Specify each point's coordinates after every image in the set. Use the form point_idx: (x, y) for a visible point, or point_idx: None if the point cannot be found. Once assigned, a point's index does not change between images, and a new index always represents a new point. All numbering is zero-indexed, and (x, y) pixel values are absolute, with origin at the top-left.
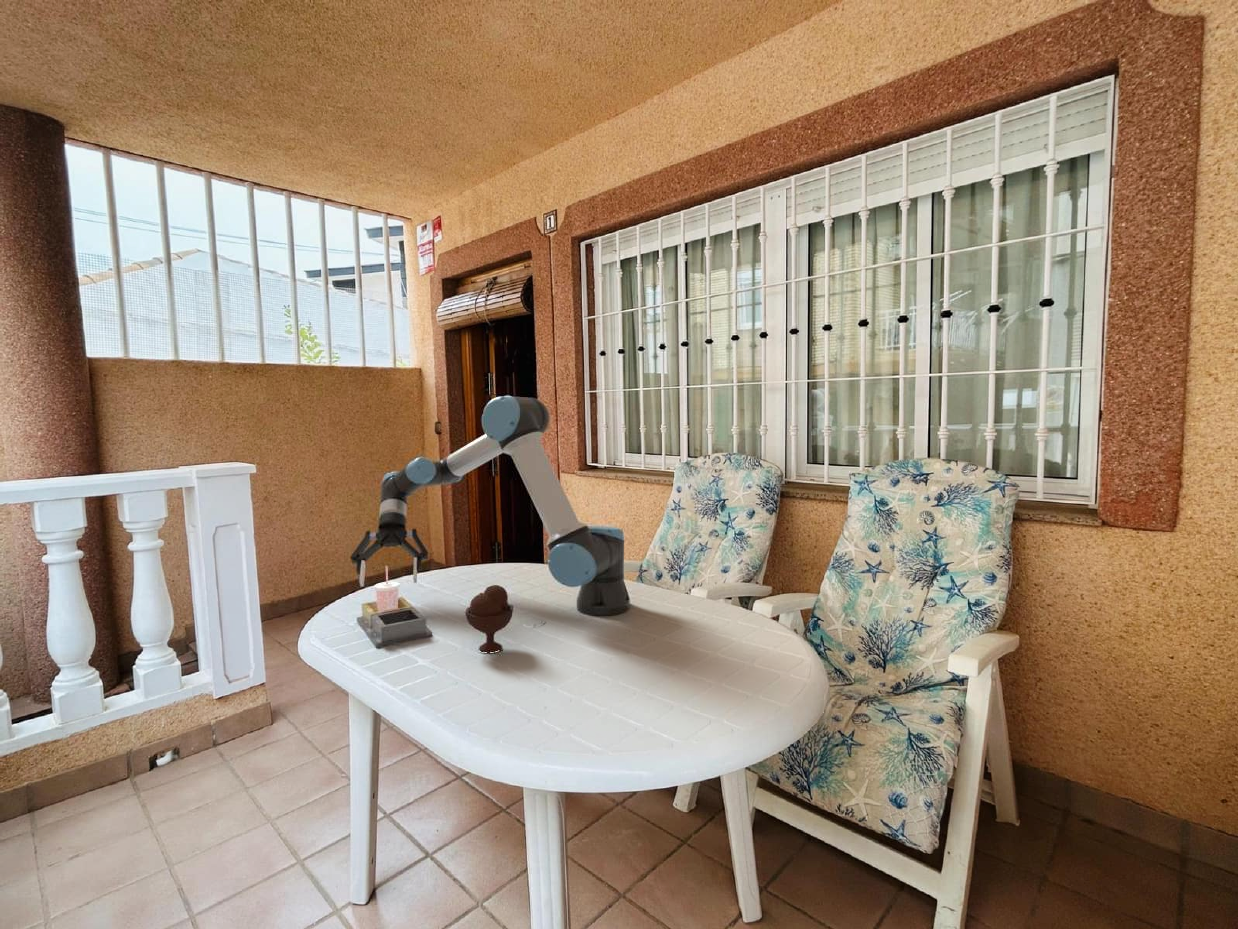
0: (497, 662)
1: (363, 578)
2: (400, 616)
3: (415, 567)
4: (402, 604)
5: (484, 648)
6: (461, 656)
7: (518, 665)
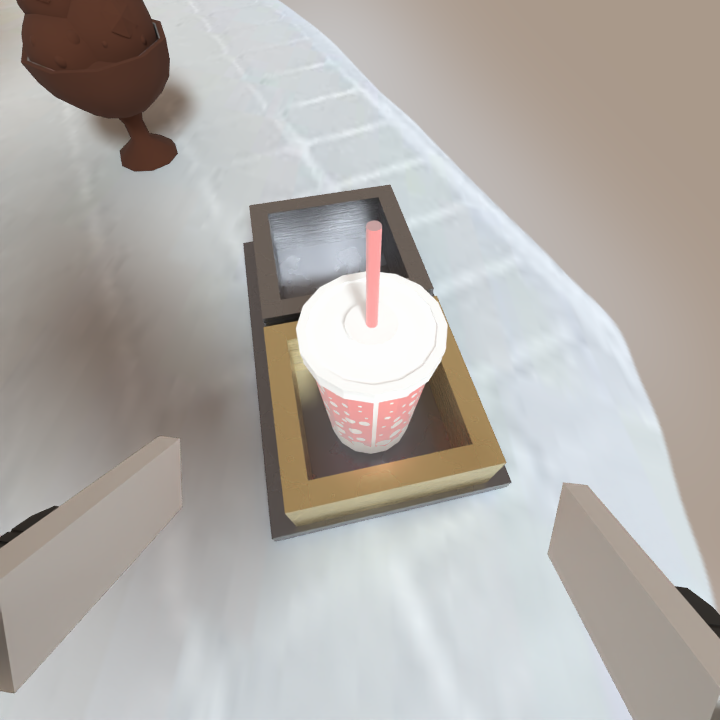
0: (168, 112)
1: (576, 549)
2: None
3: (98, 485)
4: (299, 419)
5: (164, 138)
6: (219, 145)
7: None
